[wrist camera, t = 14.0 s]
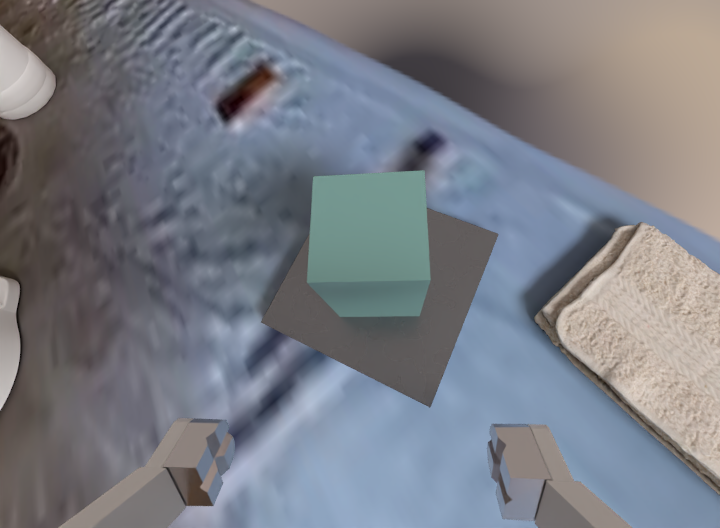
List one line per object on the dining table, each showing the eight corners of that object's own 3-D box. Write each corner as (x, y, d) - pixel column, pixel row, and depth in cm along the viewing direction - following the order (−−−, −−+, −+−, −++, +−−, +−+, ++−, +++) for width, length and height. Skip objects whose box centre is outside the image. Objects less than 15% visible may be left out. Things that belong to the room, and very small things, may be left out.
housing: (339, 316, 27) (307, 282, 17) (342, 243, 28) (313, 176, 19) (419, 316, 26) (430, 280, 17) (416, 241, 28) (424, 170, 18)
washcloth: (614, 223, 29) (639, 205, 26) (857, 393, 23) (923, 395, 20) (519, 325, 27) (534, 318, 24) (757, 534, 22) (813, 558, 19)
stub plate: (267, 325, 29) (238, 312, 23) (343, 185, 32) (332, 147, 27) (428, 405, 25) (435, 412, 20) (493, 241, 29) (514, 210, 24)
